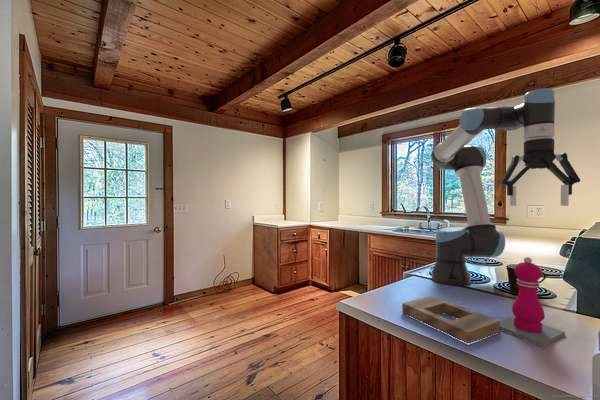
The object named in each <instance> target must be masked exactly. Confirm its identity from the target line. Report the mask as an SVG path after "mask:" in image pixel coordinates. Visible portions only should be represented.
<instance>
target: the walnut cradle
mask: <svg viewBox="0 0 600 400" xmlns="http://www.w3.org/2000/svg"><path fill="white" fill-rule="evenodd" d="M401 305H402V306H401V307H402V311H401V312H402V314H403V313H404V314H406V315H408V316H411V317H413V318H415V319H417V320H419V321H422V322H423V323H426V324H428V325H430V326H432V327H434V328H436V329H439V330H440V331H443V332H445V333H447V334H449V335H451V336H453V337H455V338H457V339H459V340H462V341H464V342H466V343H471V342H474V341H477V340H480V339H483V338H485V337H488V336H491V335H493V334H496V333H499V332H500V333H501V330H500V321H501V320H499V319H496V318H493V317H491V316H488V315H486V314H482V313H480V312H477V311H474V310H472V309H469V308H466V307H464V306H462V305H458V304H455V303H453V302H450V301H448V300H445V299H442V298H439V297H437V296H433V295H429V296H424V297H421V298H417V299H414V300H410V301H409V300H408V301H406V302H403V303H402V304H401ZM442 313H445V314H444V315H446V314H447V315H446V316H448V315H450V316H449V317H451V316H453V317H455V318H454V319H453V320H450V319H449V318H446V317H444V316H441V315H443V314H442ZM404 314H403V315H404ZM438 314H441V315H438ZM406 315H405V316H406ZM408 316H407V317H408ZM453 317H452V318H453ZM456 318H458V319H456ZM423 323H422V324H423ZM500 333H499V334H500ZM496 335H497V334H496ZM491 337H492V336H491Z"/></svg>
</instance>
